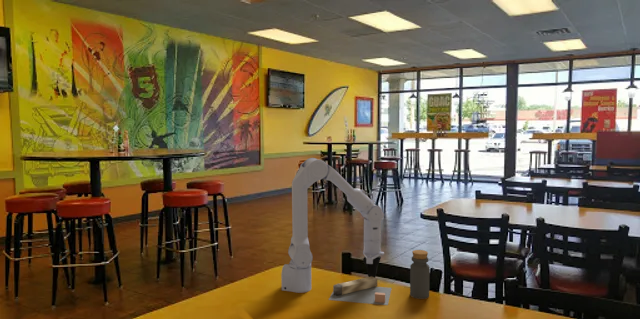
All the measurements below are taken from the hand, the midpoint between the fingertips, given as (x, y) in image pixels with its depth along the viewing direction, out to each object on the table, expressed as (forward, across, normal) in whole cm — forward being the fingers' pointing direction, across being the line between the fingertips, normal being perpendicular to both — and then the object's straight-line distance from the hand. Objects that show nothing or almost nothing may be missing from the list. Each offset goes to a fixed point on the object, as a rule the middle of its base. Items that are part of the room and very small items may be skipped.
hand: (372, 278), depth 149 cm
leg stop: (+1, -17, -4) cm, 17 cm away
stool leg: (+1, -9, +4) cm, 10 cm away
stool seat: (+2, -12, +2) cm, 12 cm away
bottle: (+2, -9, -16) cm, 19 cm away
